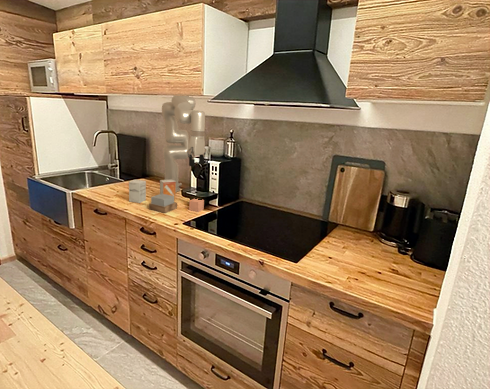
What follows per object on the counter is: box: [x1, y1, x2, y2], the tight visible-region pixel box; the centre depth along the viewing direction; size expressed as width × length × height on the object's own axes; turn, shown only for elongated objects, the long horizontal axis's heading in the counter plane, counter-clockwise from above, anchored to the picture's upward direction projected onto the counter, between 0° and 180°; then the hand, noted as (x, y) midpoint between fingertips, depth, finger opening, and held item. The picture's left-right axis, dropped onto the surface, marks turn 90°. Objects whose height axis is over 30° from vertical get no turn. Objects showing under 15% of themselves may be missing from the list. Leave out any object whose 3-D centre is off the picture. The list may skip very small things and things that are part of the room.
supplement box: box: [128, 179, 147, 204], centre depth 181 cm, size 7×7×13 cm
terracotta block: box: [188, 198, 205, 213], centre depth 174 cm, size 6×6×6 cm
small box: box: [159, 179, 177, 202], centre depth 186 cm, size 8×6×13 cm
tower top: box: [150, 193, 174, 207], centre depth 171 cm, size 9×9×4 cm
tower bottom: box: [148, 201, 178, 214], centre depth 172 cm, size 11×11×4 cm
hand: (196, 165), depth 168 cm, fingers open, 9 cm apart
